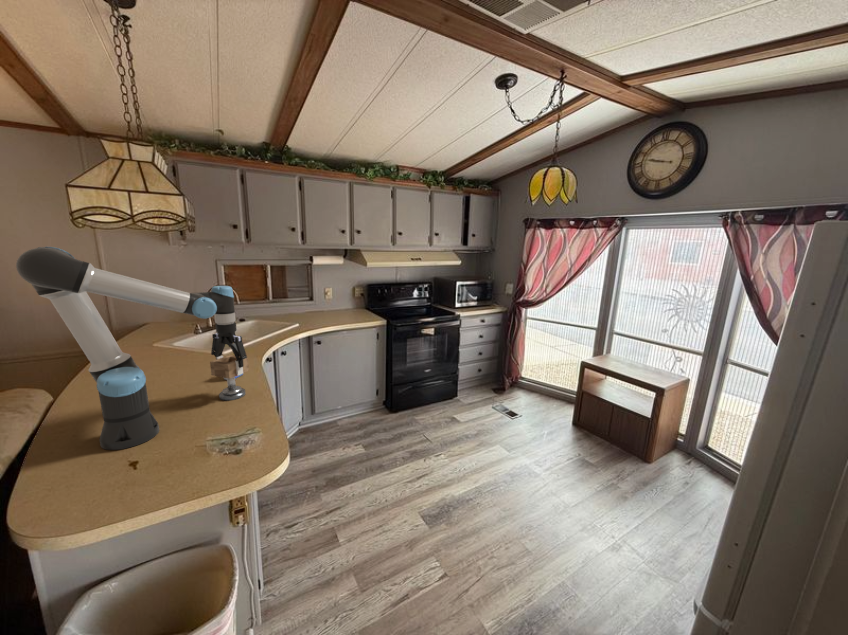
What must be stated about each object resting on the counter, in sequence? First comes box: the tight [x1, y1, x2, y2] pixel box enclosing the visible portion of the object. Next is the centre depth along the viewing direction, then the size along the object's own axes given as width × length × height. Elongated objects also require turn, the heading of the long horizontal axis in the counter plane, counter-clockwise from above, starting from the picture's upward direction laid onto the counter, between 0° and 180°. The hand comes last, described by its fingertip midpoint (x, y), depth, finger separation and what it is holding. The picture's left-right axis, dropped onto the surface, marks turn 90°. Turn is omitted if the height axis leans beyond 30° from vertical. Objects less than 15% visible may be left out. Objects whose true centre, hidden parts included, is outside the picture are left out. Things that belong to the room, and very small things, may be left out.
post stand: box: [218, 377, 246, 402], centre depth 145 cm, size 10×10×11 cm
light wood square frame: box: [209, 354, 250, 379], centre depth 144 cm, size 10×10×6 cm
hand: (230, 372), depth 144 cm, fingers closed on light wood square frame, 10 cm apart
